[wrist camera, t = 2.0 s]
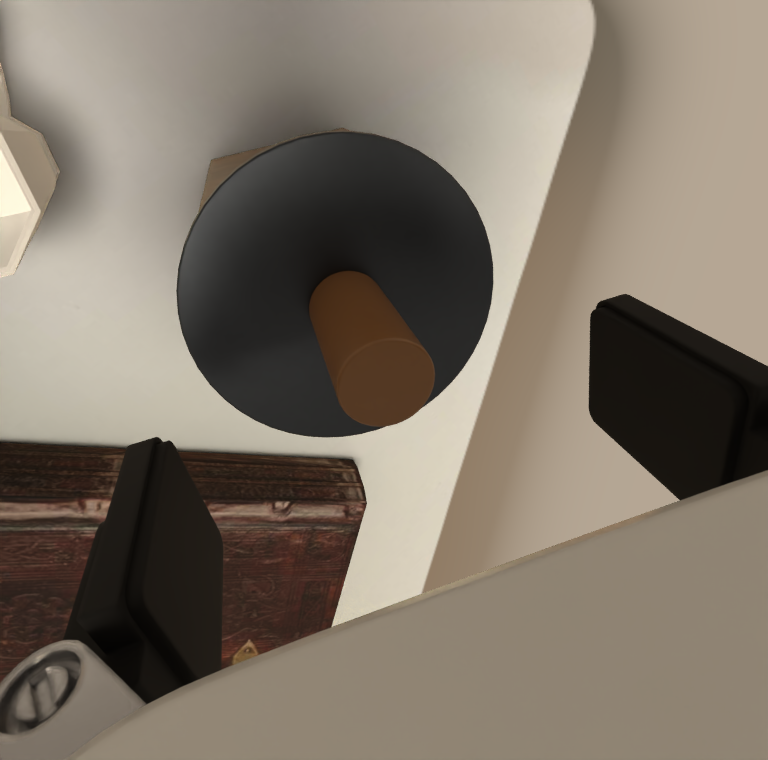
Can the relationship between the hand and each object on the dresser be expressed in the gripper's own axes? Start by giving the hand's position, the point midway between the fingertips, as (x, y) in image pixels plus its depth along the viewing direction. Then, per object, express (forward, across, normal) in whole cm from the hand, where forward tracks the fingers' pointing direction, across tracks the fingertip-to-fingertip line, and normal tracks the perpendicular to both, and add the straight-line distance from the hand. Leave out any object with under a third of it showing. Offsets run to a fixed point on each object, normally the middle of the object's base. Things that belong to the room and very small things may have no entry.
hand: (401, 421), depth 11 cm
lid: (+7, 0, 0) cm, 7 cm away
